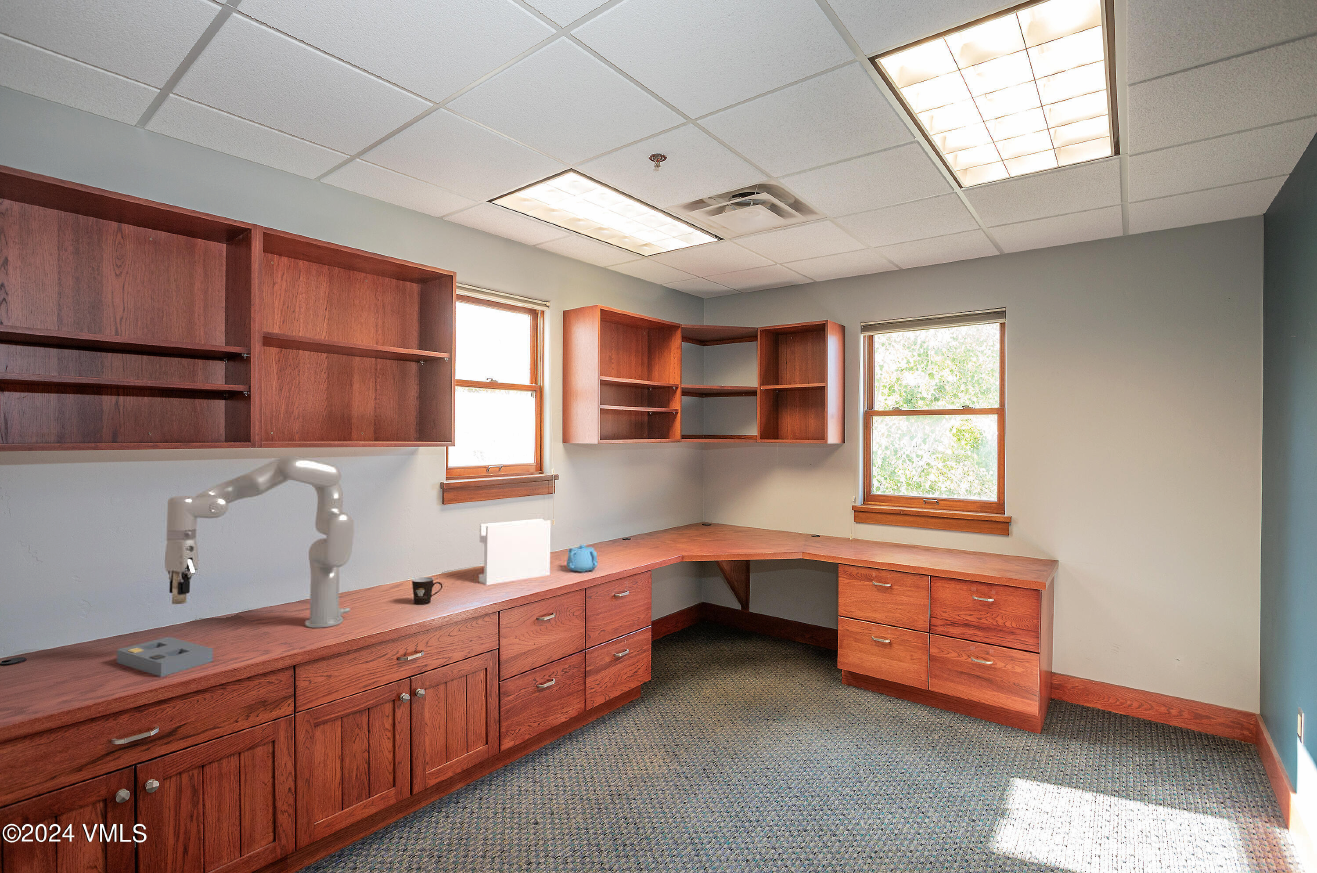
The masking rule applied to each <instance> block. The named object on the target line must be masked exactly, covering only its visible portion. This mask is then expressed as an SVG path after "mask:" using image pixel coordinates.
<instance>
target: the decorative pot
mask: <svg viewBox="0 0 1317 873" xmlns="http://www.w3.org/2000/svg"><path fill="white" fill-rule="evenodd" d="M567 552H568V553H567V555H568V556H567V560H566V567H567V568H568V569H569V570H571V572H580V573H586V572H588V571H590V572H591V571H594V569H596V568H597V567H598V562H599V561H598V553H597V552H596V550H595V548H594V547H592V546H588V547H587V545H586V544H579V546H578V547H577V546H576V547H571V548H569V549H568V550H567Z"/></svg>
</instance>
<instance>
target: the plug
mask: <svg viewBox="0 0 1317 873" xmlns="http://www.w3.org/2000/svg"><path fill="white" fill-rule="evenodd" d="M185 571H187V569H185ZM185 574H187V573H184V574H183V576H184V575H185ZM178 582H180V581H179V572H175V571H174V572H173V589H172V593H171V594H172V596H171V597H172V598H171V604H172V605H182V604H186V603H187V597H188V596H187V594H188V593H187V594H182V595H178Z"/></svg>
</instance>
